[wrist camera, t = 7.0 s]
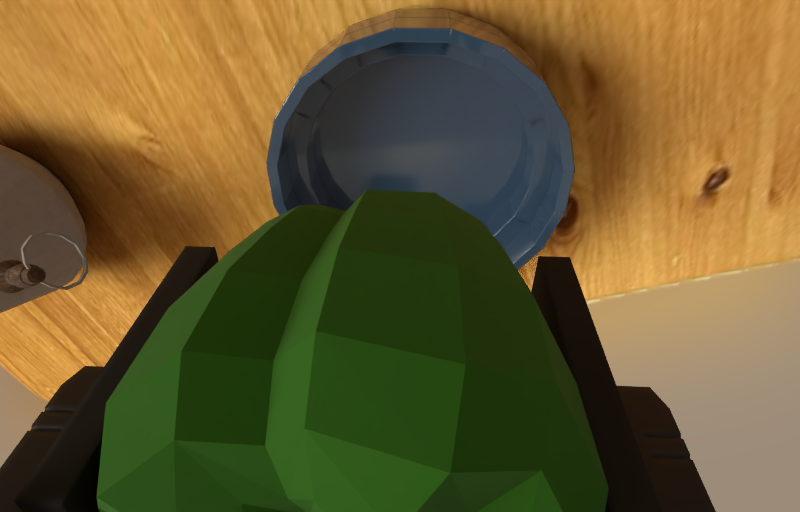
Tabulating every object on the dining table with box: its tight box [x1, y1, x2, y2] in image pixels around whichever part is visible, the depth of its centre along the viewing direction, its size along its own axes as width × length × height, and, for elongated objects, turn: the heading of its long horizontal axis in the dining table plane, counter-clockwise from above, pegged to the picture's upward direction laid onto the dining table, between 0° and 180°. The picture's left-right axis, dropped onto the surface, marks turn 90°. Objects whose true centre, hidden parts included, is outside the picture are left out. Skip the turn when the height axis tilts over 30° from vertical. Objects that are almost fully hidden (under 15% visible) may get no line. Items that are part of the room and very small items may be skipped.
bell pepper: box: [97, 190, 609, 512], centre depth 10 cm, size 8×8×10 cm
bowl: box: [266, 9, 575, 270], centre depth 28 cm, size 16×16×4 cm
